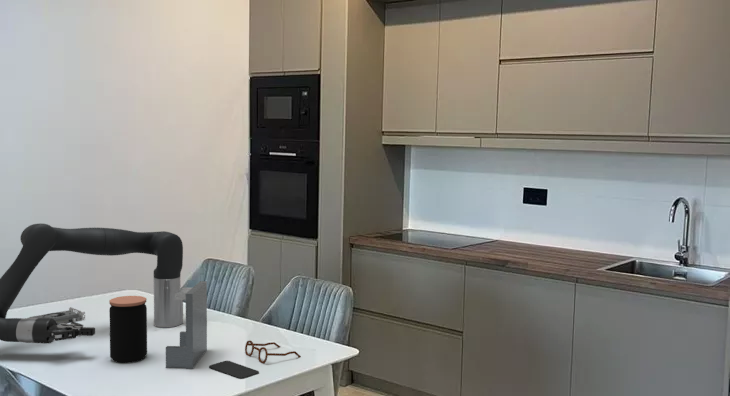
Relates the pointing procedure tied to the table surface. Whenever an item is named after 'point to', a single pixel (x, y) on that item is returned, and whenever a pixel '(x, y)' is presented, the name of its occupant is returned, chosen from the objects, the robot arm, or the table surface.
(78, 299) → the table surface
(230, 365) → the phone
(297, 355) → the glasses
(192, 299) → the bracket
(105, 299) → the table surface
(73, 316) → the graphics card
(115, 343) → the coffee jar
